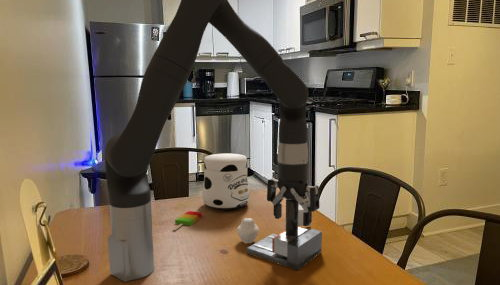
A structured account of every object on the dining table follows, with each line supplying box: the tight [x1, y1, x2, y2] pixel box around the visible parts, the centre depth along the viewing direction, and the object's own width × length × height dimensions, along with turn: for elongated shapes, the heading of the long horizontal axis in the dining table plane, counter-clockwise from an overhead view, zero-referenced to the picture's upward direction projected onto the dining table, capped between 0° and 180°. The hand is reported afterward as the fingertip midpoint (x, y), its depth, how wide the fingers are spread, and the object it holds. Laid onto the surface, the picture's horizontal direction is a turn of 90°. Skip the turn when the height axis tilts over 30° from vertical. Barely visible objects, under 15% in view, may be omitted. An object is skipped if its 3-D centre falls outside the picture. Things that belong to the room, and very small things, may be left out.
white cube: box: [298, 205, 312, 227], centre depth 120 cm, size 6×6×6 cm
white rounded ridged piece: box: [236, 217, 260, 244], centre depth 108 cm, size 6×6×7 cm
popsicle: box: [172, 210, 202, 232], centre depth 123 cm, size 6×15×2 cm, turn 162°
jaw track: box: [246, 228, 323, 271], centre depth 100 cm, size 12×16×6 cm
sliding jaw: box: [272, 199, 309, 257], centre depth 98 cm, size 10×5×13 cm, turn 142°
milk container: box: [201, 152, 251, 211], centre depth 138 cm, size 17×17×18 cm
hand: (292, 221), depth 98 cm, fingers open, 8 cm apart
